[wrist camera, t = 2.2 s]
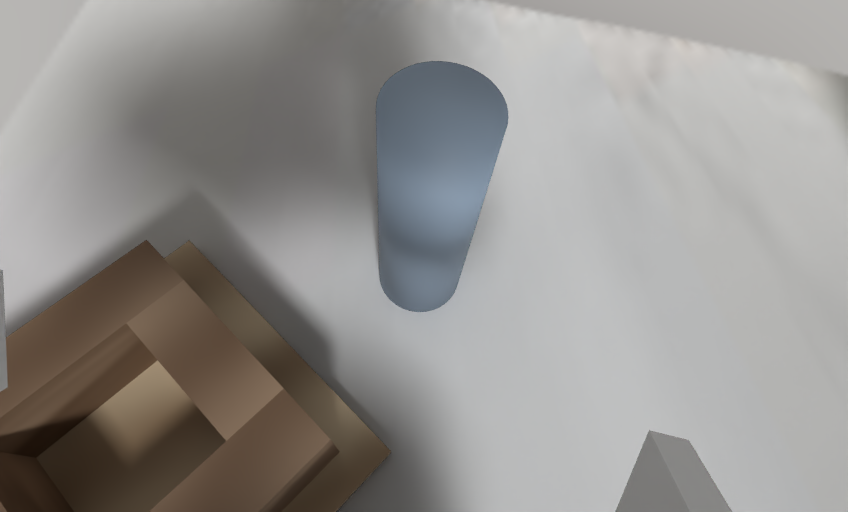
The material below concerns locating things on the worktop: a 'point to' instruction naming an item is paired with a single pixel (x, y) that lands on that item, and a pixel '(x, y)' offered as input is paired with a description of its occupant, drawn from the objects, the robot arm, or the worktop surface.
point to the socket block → (170, 402)
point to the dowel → (433, 176)
